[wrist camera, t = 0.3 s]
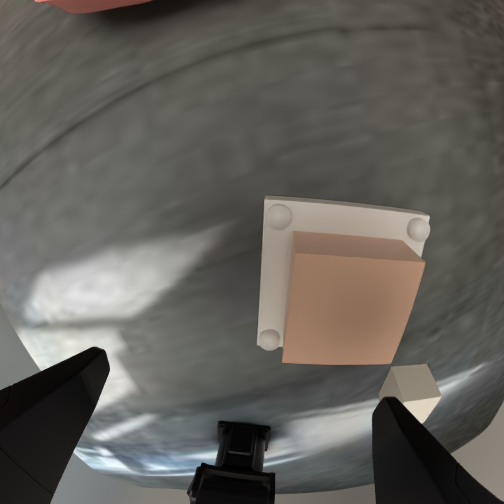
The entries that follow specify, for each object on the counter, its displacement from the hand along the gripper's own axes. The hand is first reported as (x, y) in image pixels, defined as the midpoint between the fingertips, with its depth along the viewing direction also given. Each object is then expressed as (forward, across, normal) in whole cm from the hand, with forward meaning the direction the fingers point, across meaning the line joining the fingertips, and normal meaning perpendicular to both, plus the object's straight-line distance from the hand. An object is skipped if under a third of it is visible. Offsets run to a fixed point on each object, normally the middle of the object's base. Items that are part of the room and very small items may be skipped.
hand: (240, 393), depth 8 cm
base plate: (+14, -6, +2) cm, 16 cm away
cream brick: (+14, -17, +13) cm, 26 cm away
